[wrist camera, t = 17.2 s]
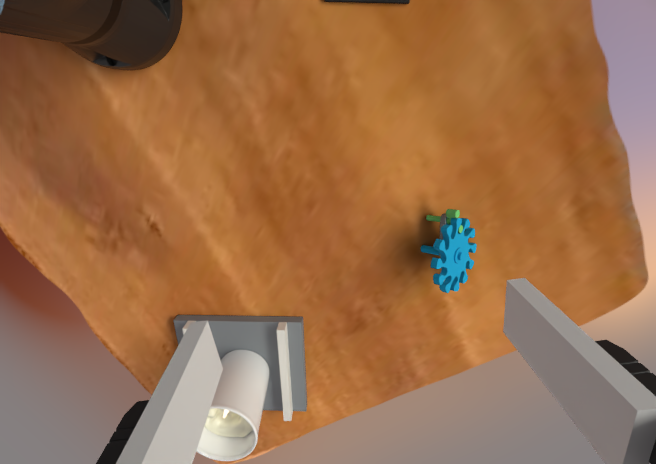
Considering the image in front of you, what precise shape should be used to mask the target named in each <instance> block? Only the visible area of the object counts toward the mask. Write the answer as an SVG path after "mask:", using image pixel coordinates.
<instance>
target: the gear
mask: <svg viewBox="0 0 656 464" xmlns="http://www.w3.org/2000/svg"><path fill="white" fill-rule="evenodd" d="M459 214H460V212H459V210H453V209H447V211H446V214H442V216H441V217H440V216H432V215H427V217H426V219H427V220H428V221H436V222H440V239H436V241H435V243H434V245H433V247H431V246H426V245H422V246H421V252H424V253H429V254H434V255H438V256H440V258H441V259H439V258H435V257H433V258H432V261H431V268H435V269H440V268H442V270H441V273H440V274H437V273H436V274H434V276H433V280H434V284H438V285H440V290H441V291H443V292H446V293H449V291H450V290H453V291H458V290H459V282H460V283H465V282H466V281H467V279H468V276H467V274H466V268H467V269H472V267H473V265H474V261H473V260H471V259H470V257H469V254H468V252H472V253H475V251H476V244H475V243H468V238H474V236H475V229H474V228H469V226H470V222H469V220H468V219H466V218H461V219H460V218H458V217H459ZM465 229H466V231H465ZM464 231H465V232H464ZM444 280H445V281H444Z"/></svg>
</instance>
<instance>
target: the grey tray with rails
mask: <svg viewBox="0 0 656 464" xmlns="http://www.w3.org/2000/svg"><path fill="white" fill-rule="evenodd" d="M207 320H208V323H209V326H210V329H211V332H212V336H213V339H214V342H215V345H216V348H217V351H218V354H219V357H220V361H221V359H222V358H223V357H224V356H225V355H226V354H227V353H229V352H231V351H234V350H240V349H242V350H249V351H253V352H255V353H257V354H259V355H260V356H261V357H262V358H263V359H264V360H265V361H266V362H267V364H268V367H269V372H270V373H269V381H268V386H267V391H266V397H265V402H264V407H263V410H279V411H283V416H284V421H291V419H292V413H293V411H306V409H307V391H306V370H305V349H304V328H303V317H285V316H220V315H177V316H176V318H175V319H174V320H173V321H174V326H175V330H176V335H177V340H178V345H179V343H180V342H181V340H182V338H183V336H184V334H185V332H186V330H187V328H188V326H189V325H190V323H192V322H199V321H207Z"/></svg>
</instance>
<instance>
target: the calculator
mask: <svg viewBox="0 0 656 464" xmlns="http://www.w3.org/2000/svg"><path fill="white" fill-rule="evenodd" d="M325 2H359V3H399V4H409V0H325Z"/></svg>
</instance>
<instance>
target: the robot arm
mask: <svg viewBox="0 0 656 464" xmlns="http://www.w3.org/2000/svg"><path fill="white" fill-rule="evenodd" d="M181 19H182V0H0V32H1V33H7V34H14V35H20V36H26V37H32V38H38V39H44V40H50V41H56V42H61V43H63V44H64V45H66V46H67V47H69V48H70V49H72V50H73V51H75V52H76V53H78V54H79V55H81V56H82V57H84V58H86V59H87V60H89V61H91V62H93V63H96V64H98V65H101V66H104V67H108V68H113V69H121V70H138V69H143V68H146V67H149V66H151V65H153V64H155V63H157V62H158V61H159V60H161V59H162V58H163V57H164V56H165V55H166V54H167V53H168V52H169V50H170V49H171V48H172V46H173V44H174V42H175V40H176V38H177V36H178V33H179V29H180V25H181ZM503 332H504V333H505V335H506V336H507V337H508V339H509V340H510V341H511V342H512V344H513V345H514V346H515V348H516V349H517V350H518V352H519V353H520V354H521V355H522V357H523V358H524V359H525V360H526V362H527V363H528V364H529V366H530V367H531V368H532V370H533V371H534V372H535V373H536V375H537V376H538V377H539V379H540V380H541V381H542V383H543V384H544V385H545V386H546V388H547V389H548V390H549V392H550V393H551V394H552V395H553V397H554V398H555V399H556V401H557V402H558V403H559V404H560V406H561V407H562V408H563V410H564V411H565V412H566V414H567V415H568V416H569V417H570V419H571V420H572V421H573V422H574V424H575V425H576V426H577V428H578V429H579V430H580V432H581V433H582V434H583V435H584V437H585V438H586V439H587V440H588V442H589V443H590V444H591V446H592V447H593V448H594V450H595V451H596V452H597V454H598V455H599V456H600V457H601V459H602V460H603V461H604V463H605V464H649V463H651V464H656V376H655V375H654V374H653V373H650V371H649V370H648V369H647V368H646V367H645V366H643V365H642V364H641V363H638V360H636V359H635V358H634V357H633V356H631V355H630V354H629V353H628V352H627V351H626V350H624V349H623V348H621V347H619V346H617V345H615V344H613V343H611V342H609V341H608V340H601V341H594V340H593V339H592V338H590V337H589V336H588V335H587V334H586V333H585V332H584V331H583V330H582V329H581V328H579V327H578V326H577V325H576V324H575V323H574V322H573V321H572V320H571V319H570V318H568V317H567V316H566V315H565V314H564V313H563V312H562V311H561V310H560V309H558V308H557V307H556V306H555V305H554V304H553V303H552V302H551V301H550V300H549V299H547V298H546V297H545V296H544V295H543V294H542V293H541V292H540V291H539V290H537V289H536V288H535V287H534V286H533V285H532V284H531V283H530V282H529V281H527V280H526V279H525V278H521V279H514V280H507V287H506V302H505V316H504V330H503ZM222 371H223V367H222V364H221V361H220V357H219V354H218V351H217V348H216V345H215V342H214V339H213V336H212V332H211V329H210V326H209V323H208V320H207V321H199V322H192V323H190V325H189V326H188V328H187V330H186V332H185V334H184V336H183V338H182V340H181V342H180V343H179V345H178V347H177V349H176V351H175V353H174V355H173V357H172V359H171V360H170V362H169V364H168V366H167V368H166V370H165V372H164V374H163V376H162V377H161V379H160V381H159V383H158V385H157V387H156V389H155V391H154V393H153V394H152V396H151V398H150V400H147V401H139V402H137V403H136V404H135V405H134V406H133V407H132V408H131V409H130V410H129V411H128V412H127V413H126V414H125V415H124V417H123V418H122V420H121V422H120V424H119V425H118V427H117V429H116V432H114V434H113V436H112V437H111V439H110V442H109V444H107V446H106V447H105V449H104V451H103V453H102V454H101V456H100V458H99V460H98V461H97V463H96V464H192V462H193V460H194V456H195V453H196V450H197V447H198V444H199V441H200V438H201V435H202V432H203V429H204V426H205V423H206V420H207V417H208V414H209V410H210V407H211V404H212V401H213V398H214V395H215V392H216V389H217V386H218V383H219V380H220V377H221V374H222Z"/></svg>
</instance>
